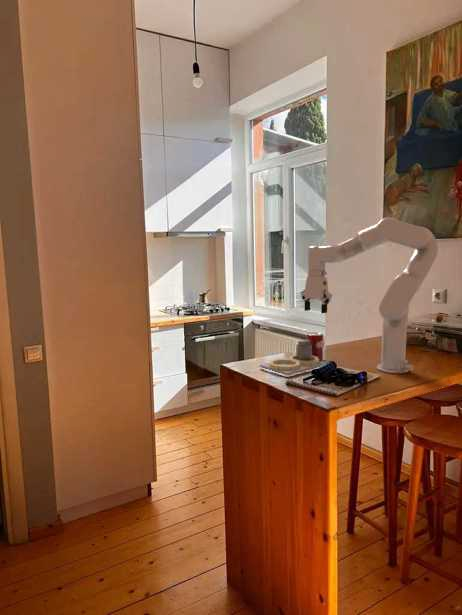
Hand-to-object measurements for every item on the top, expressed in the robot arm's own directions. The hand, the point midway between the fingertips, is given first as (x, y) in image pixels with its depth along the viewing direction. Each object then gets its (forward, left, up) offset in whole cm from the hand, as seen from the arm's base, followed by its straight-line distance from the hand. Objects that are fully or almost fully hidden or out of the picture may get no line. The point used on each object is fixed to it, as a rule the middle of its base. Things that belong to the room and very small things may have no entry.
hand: (315, 311), depth 206 cm
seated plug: (-4, +12, -20) cm, 24 cm away
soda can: (0, 0, -22) cm, 22 cm away
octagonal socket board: (-4, +18, -22) cm, 29 cm away
